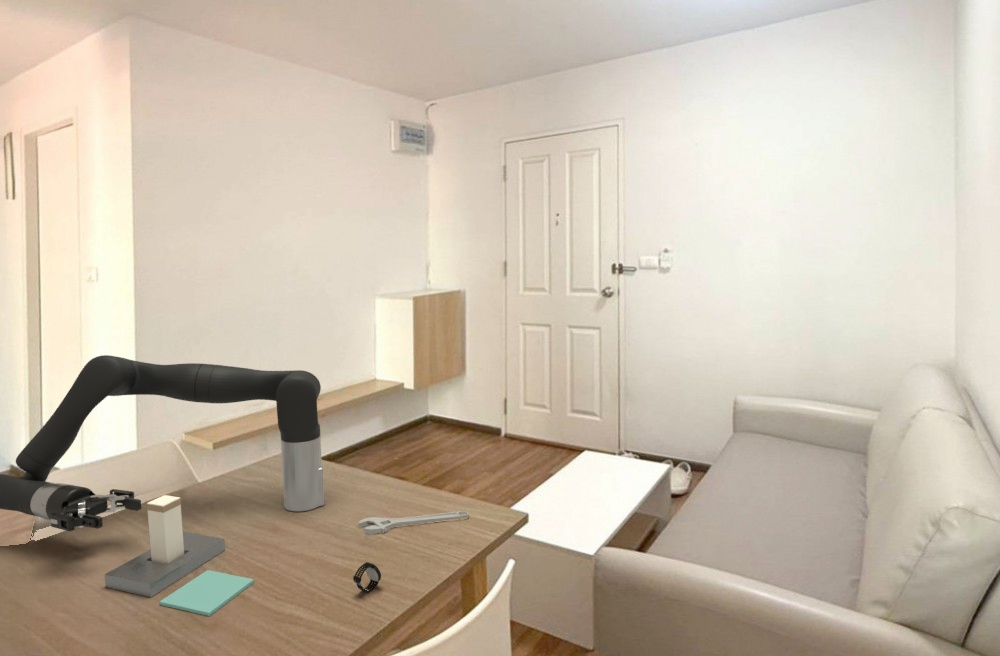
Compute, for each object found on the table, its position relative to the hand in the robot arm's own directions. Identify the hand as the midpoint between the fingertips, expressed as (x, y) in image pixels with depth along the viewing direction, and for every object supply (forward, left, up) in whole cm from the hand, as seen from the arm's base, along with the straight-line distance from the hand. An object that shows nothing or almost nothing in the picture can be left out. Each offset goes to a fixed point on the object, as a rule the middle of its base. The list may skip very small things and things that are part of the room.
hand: (121, 513), depth 119 cm
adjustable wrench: (-59, +8, -10) cm, 60 cm away
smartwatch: (-44, +30, -10) cm, 54 cm away
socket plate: (-9, +7, -10) cm, 15 cm away
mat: (-17, +20, -10) cm, 28 cm away
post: (-9, +7, -10) cm, 15 cm away
